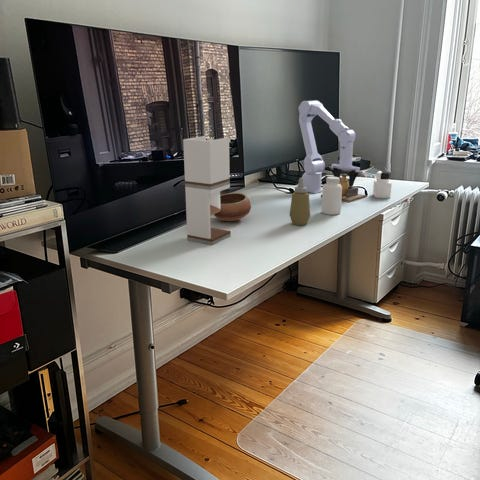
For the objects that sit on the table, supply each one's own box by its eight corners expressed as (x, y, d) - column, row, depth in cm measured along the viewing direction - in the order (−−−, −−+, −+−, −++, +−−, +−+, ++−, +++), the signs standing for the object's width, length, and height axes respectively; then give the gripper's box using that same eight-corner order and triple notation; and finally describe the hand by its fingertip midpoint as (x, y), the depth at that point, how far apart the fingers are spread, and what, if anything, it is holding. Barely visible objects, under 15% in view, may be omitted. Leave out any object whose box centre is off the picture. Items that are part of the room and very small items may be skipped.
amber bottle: (336, 194, 232) (337, 174, 229) (342, 193, 235) (343, 172, 232) (343, 196, 229) (345, 175, 226) (349, 195, 232) (351, 174, 228)
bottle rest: (321, 196, 233) (321, 187, 232) (338, 192, 243) (338, 183, 241) (349, 202, 222) (350, 192, 221) (366, 197, 232) (366, 187, 230)
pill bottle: (342, 211, 207) (344, 176, 202) (337, 216, 200) (340, 180, 195) (324, 209, 210) (326, 175, 206) (319, 214, 203) (320, 178, 199)
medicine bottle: (387, 194, 237) (389, 170, 233) (390, 198, 230) (392, 172, 226) (372, 194, 237) (374, 170, 234) (375, 197, 231) (377, 172, 227)
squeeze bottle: (311, 221, 192) (313, 176, 187) (307, 227, 185) (309, 180, 180) (291, 220, 195) (293, 175, 189) (287, 225, 188) (288, 179, 182)
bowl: (203, 221, 195) (203, 196, 191) (228, 212, 206) (227, 189, 203) (234, 227, 185) (234, 202, 182) (258, 218, 197) (258, 194, 194)
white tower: (212, 245, 166) (209, 141, 155) (187, 240, 171) (183, 139, 160) (230, 236, 175) (229, 137, 164) (206, 231, 180) (203, 136, 170)
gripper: (328, 155, 229) (326, 184, 233) (354, 159, 219) (352, 188, 223) (336, 154, 233) (335, 182, 238) (363, 157, 224) (361, 186, 228)
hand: (344, 185), depth 231 cm, fingers open, 7 cm apart
